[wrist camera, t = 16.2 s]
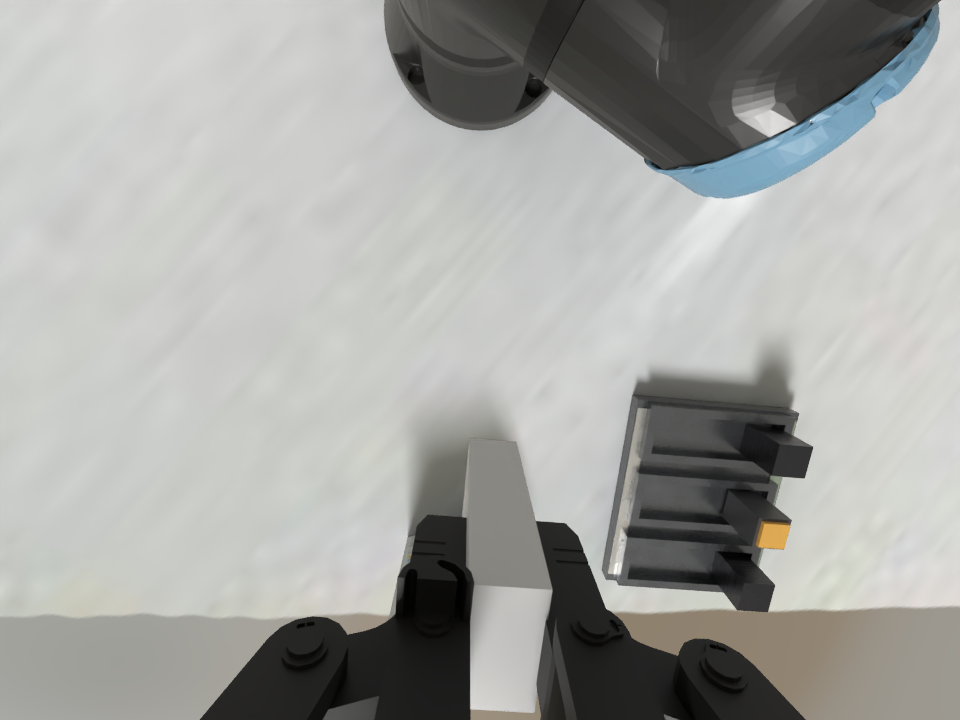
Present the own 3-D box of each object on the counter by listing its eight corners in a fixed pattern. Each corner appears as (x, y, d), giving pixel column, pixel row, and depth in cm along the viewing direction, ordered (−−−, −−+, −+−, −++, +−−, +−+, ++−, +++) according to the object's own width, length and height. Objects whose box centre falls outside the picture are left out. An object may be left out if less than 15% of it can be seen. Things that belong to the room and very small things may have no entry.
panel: (632, 395, 45) (659, 417, 39) (788, 408, 46) (839, 432, 39) (601, 569, 49) (621, 616, 43) (744, 579, 50) (784, 626, 44)
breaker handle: (728, 489, 46) (762, 520, 40) (757, 492, 46) (794, 522, 40) (721, 516, 46) (754, 549, 41) (750, 518, 46) (786, 552, 41)
